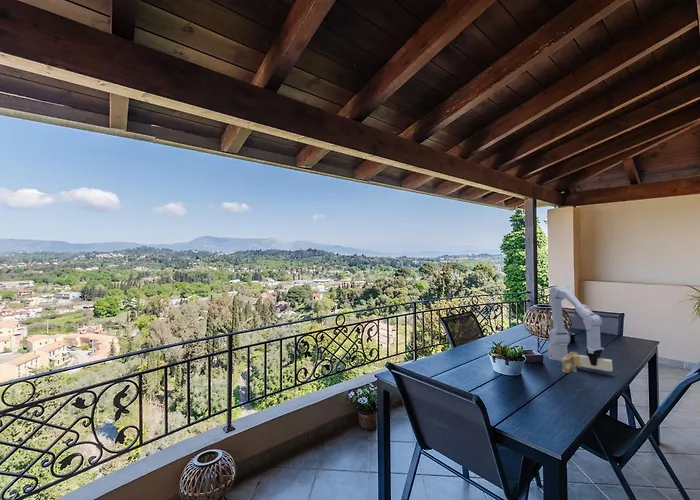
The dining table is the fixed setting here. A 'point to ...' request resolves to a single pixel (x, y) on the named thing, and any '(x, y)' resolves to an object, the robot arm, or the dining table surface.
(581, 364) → the rail
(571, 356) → the post
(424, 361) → the dining table surface
